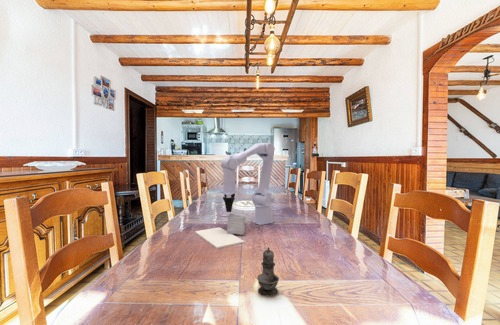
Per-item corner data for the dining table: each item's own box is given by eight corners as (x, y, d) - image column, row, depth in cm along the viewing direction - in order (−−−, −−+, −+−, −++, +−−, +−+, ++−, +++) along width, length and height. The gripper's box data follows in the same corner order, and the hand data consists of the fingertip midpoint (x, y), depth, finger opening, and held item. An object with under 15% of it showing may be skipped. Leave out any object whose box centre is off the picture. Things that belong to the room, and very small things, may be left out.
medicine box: (244, 232, 117) (246, 214, 117) (243, 235, 112) (245, 216, 113) (228, 231, 117) (229, 213, 118) (226, 233, 113) (228, 214, 113)
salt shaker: (255, 285, 69) (256, 243, 69) (276, 285, 69) (277, 242, 69) (258, 297, 63) (258, 251, 63) (280, 296, 64) (281, 250, 63)
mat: (219, 228, 124) (219, 227, 124) (244, 242, 103) (244, 241, 103) (194, 232, 116) (194, 231, 116) (216, 248, 96) (216, 247, 96)
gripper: (222, 180, 127) (222, 207, 127) (219, 184, 112) (219, 213, 113) (235, 180, 127) (235, 206, 127) (235, 184, 113) (235, 213, 113)
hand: (229, 210), depth 120 cm, fingers open, 7 cm apart
